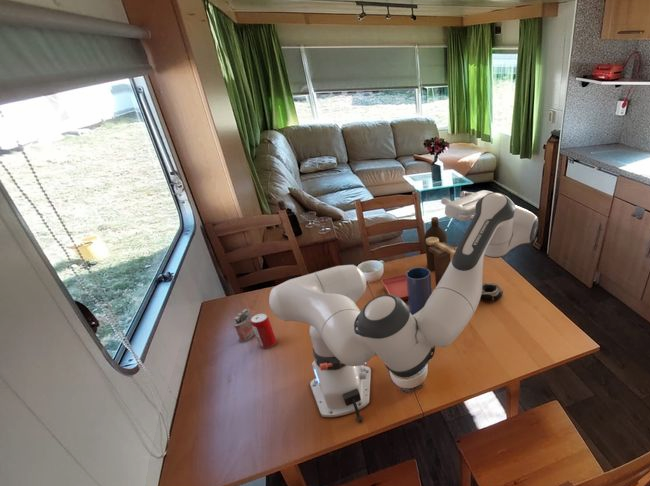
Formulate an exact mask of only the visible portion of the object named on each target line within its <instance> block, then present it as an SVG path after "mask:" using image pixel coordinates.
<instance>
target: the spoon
mask: <svg viewBox="0 0 650 486" xmlns="http://www.w3.org/2000/svg"><path fill="white" fill-rule="evenodd" d="M426 244H427V245H435V246H437V247H439V248H441V249H442V250H444V251H446V252H448V253H450V256H451V255H452V256H453V255H454V253H455V251H456V249H455V250H453V249H451V248H450V247H448V246H446V245H444V244H442V243H440V242H439V239H438V238H437V237H429V238H427V239H426Z"/></svg>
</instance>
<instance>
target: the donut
mask: <svg viewBox="0 0 650 486" xmlns="http://www.w3.org/2000/svg"><path fill="white" fill-rule="evenodd" d="M503 293H504V292H503V288H502V287H501V286H500V285H499V284H497V283H494V282H482V294H481V298H480V301H482V302H486V303H487V302H488V303H492V302H496V301H498V300H500V299H501V298H502V297H503Z"/></svg>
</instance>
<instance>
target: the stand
mask: <svg viewBox="0 0 650 486" xmlns="http://www.w3.org/2000/svg"><path fill="white" fill-rule="evenodd" d="M442 244H444V245H446V246H448V247H450V248H451V249H453V250H455V251H456V247H453V245H450V244H448V243H447V244H446V243H444V242H442ZM429 251H430V252H432V253H433V254H434V264H435V271H434V281H435V282H434V283H435V287H436V286H437V285H438V283H439V281H440V280H441V278H442V276H443V275H444V273H445V271H446V269H447V268H448V266H449V263H450V261H451V254H450V253H448V252H446V251H444V250H442V249H441V248H439V247H437V246H435V245H434V246H431V247H429Z"/></svg>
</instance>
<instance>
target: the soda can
mask: <svg viewBox="0 0 650 486" xmlns="http://www.w3.org/2000/svg"><path fill="white" fill-rule="evenodd" d="M251 323H252V327H253V329H254V332H255V334H254V335H255V337H256V339H257V343H258V346H259V347H260V348H262V349H269V348H272V347H274V345H275V344H276V343H277V338H276V335H275V333H274V330H273V327H272V324H271V321H270V319H269V317H268V316H267V314H266V313H258V314H255V315H253V316H252V319H251Z"/></svg>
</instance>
